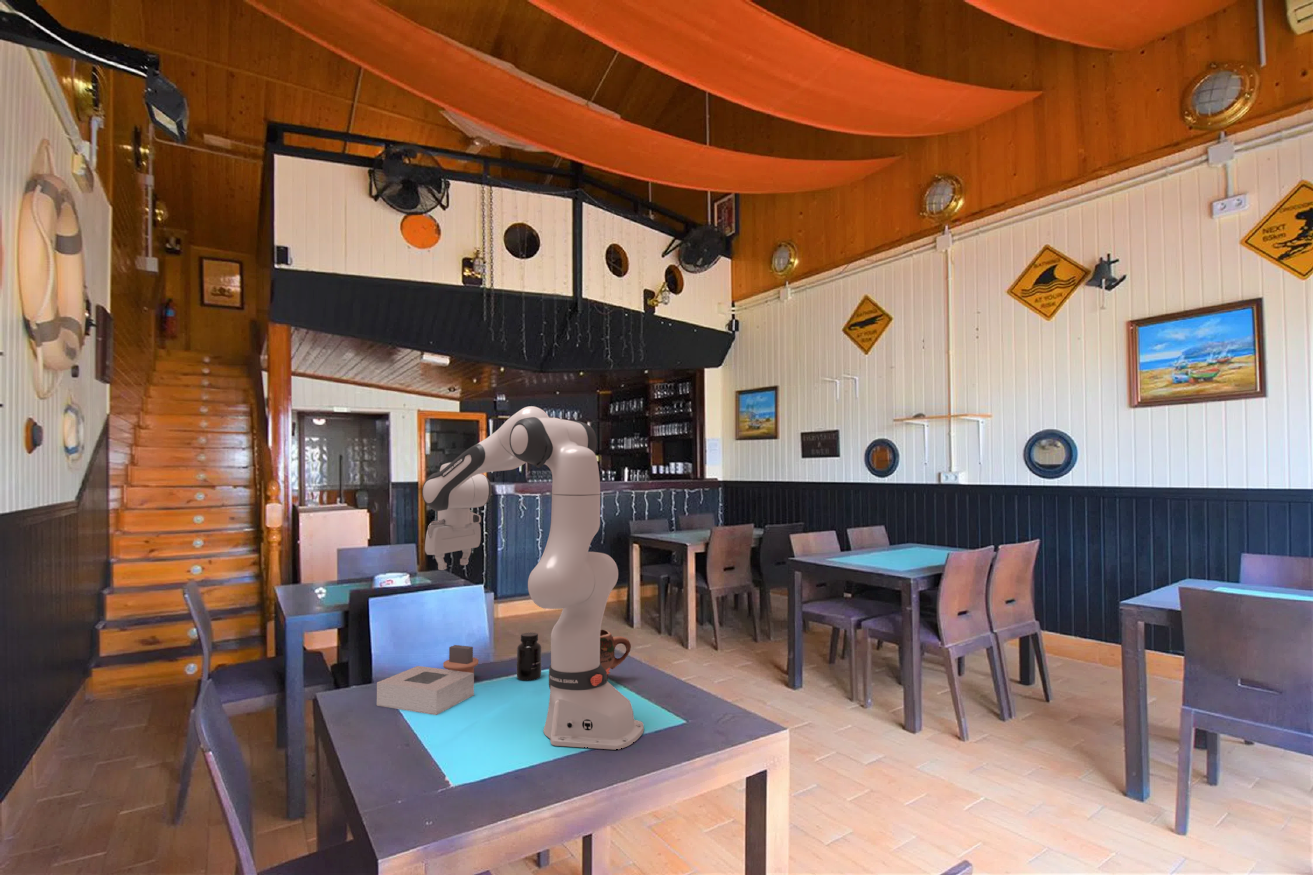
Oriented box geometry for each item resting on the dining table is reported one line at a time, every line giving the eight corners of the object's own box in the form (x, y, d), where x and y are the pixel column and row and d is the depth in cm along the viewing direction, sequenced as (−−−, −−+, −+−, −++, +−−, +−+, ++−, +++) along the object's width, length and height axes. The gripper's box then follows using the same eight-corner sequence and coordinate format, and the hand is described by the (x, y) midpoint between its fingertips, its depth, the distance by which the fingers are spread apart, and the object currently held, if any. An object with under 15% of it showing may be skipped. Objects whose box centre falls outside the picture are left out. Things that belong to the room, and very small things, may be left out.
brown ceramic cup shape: (622, 671, 185) (622, 622, 186) (637, 684, 174) (637, 632, 175) (554, 681, 177) (554, 630, 178) (565, 695, 166) (565, 640, 167)
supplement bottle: (538, 681, 177) (538, 637, 178) (514, 681, 178) (514, 637, 178) (543, 673, 184) (543, 631, 185) (519, 673, 184) (519, 631, 185)
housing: (473, 700, 163) (473, 672, 163) (436, 721, 149) (436, 690, 150) (417, 692, 169) (417, 665, 169) (376, 711, 156) (376, 682, 156)
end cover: (485, 681, 177) (485, 644, 178) (463, 692, 169) (463, 652, 169) (458, 678, 181) (458, 641, 181) (435, 688, 172) (436, 649, 173)
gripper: (438, 521, 172) (437, 573, 172) (484, 516, 191) (484, 562, 191) (419, 521, 175) (418, 572, 174) (467, 515, 194) (466, 561, 193)
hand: (453, 567), depth 182 cm, fingers open, 8 cm apart
